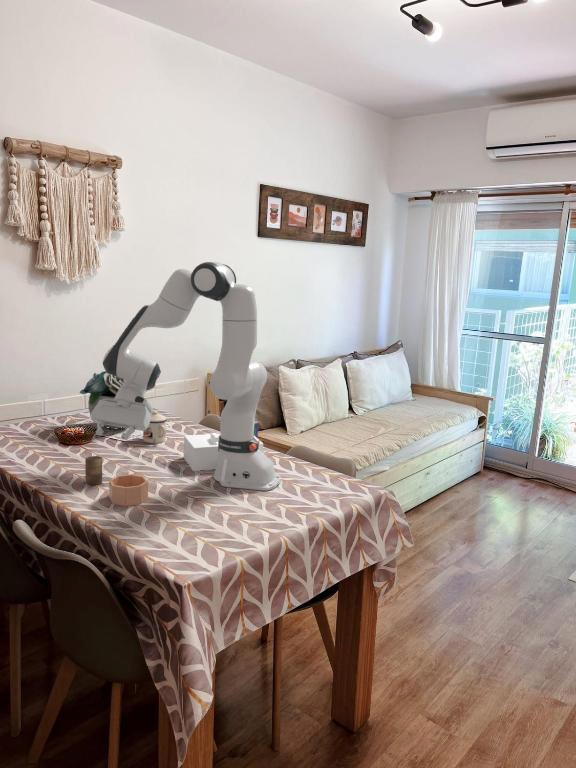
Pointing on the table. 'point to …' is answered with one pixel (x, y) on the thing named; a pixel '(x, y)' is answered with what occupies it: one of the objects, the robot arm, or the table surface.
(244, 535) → the table surface
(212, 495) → the table surface
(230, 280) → the robot arm
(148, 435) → the teacup with lid
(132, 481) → the cup
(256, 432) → the flask
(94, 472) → the peg
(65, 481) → the table surface
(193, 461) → the tissue box
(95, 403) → the flower arrangement
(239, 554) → the table surface
